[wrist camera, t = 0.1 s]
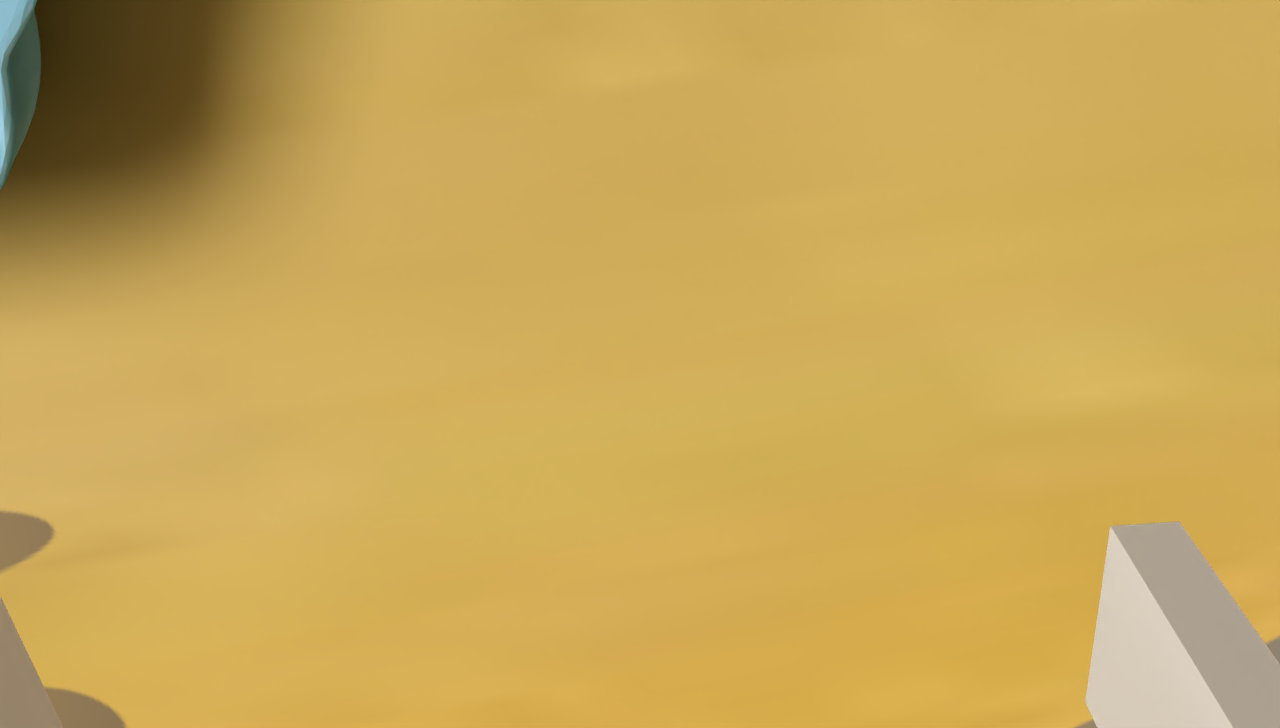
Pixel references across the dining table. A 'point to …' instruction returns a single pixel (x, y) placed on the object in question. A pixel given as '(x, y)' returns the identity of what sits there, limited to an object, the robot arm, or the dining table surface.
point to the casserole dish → (17, 77)
